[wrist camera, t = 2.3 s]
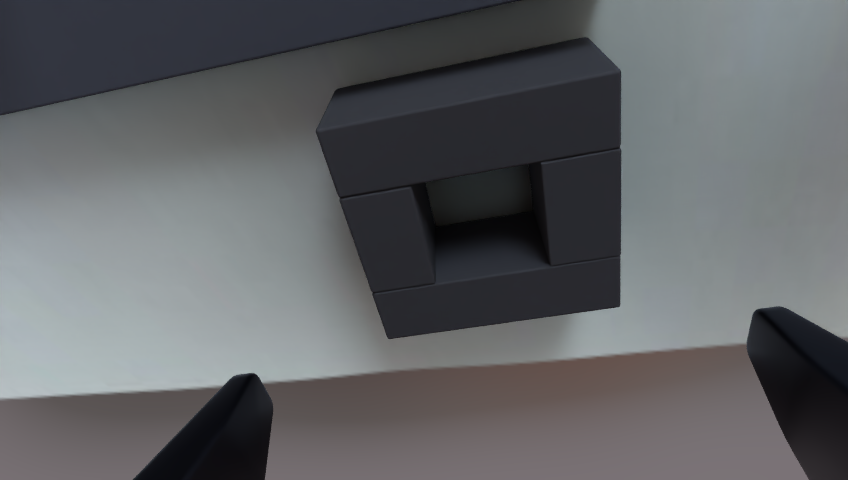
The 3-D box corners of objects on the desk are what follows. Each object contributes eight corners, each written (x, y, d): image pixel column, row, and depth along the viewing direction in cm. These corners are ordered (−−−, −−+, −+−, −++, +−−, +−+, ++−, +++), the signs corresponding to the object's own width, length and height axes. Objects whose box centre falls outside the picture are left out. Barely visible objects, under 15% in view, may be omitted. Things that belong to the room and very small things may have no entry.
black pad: (588, 35, 14) (622, 69, 11) (594, 247, 17) (620, 307, 15) (334, 88, 15) (313, 130, 12) (393, 279, 18) (387, 340, 16)
